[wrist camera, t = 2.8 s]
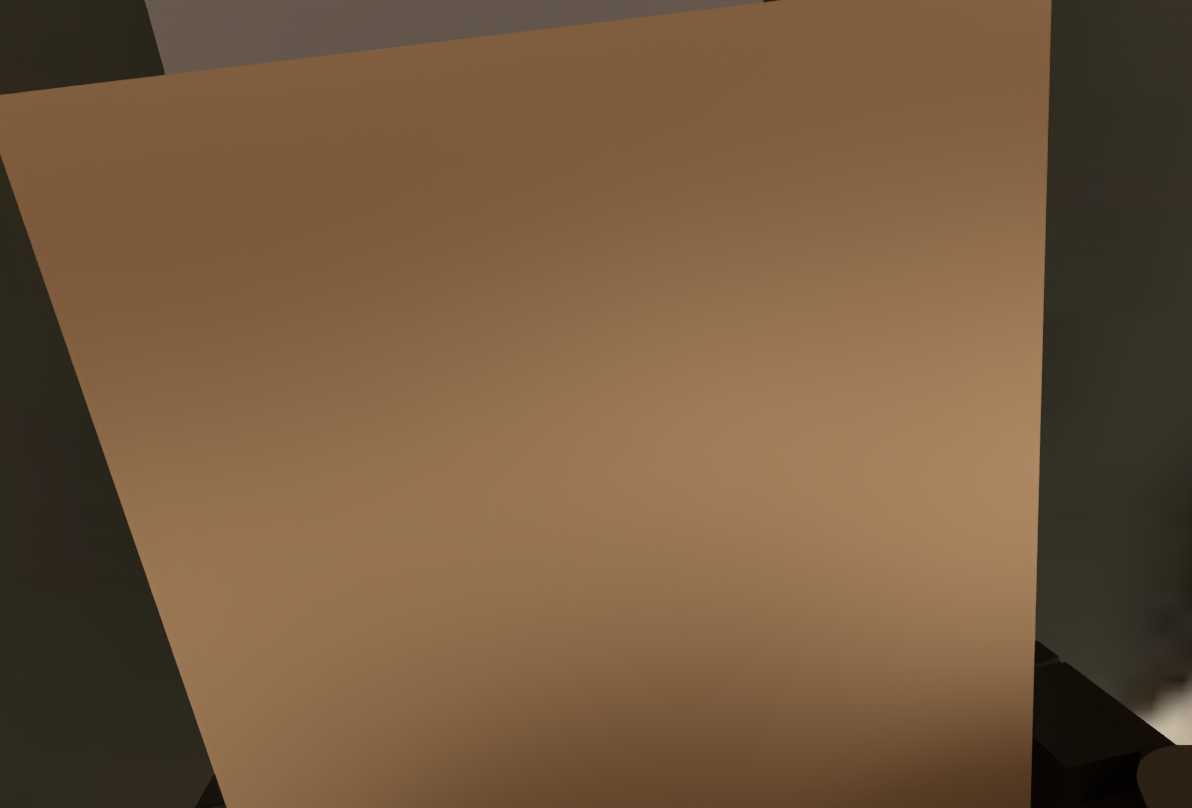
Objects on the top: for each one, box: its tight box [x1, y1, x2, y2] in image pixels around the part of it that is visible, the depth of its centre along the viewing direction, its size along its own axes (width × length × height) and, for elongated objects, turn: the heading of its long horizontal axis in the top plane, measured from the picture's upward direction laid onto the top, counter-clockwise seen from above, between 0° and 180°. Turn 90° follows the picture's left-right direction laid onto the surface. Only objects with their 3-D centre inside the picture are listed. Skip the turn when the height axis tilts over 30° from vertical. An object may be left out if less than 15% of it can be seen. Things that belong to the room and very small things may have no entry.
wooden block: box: [0, 0, 1051, 808], centre depth 7 cm, size 14×6×4 cm, turn 8°
